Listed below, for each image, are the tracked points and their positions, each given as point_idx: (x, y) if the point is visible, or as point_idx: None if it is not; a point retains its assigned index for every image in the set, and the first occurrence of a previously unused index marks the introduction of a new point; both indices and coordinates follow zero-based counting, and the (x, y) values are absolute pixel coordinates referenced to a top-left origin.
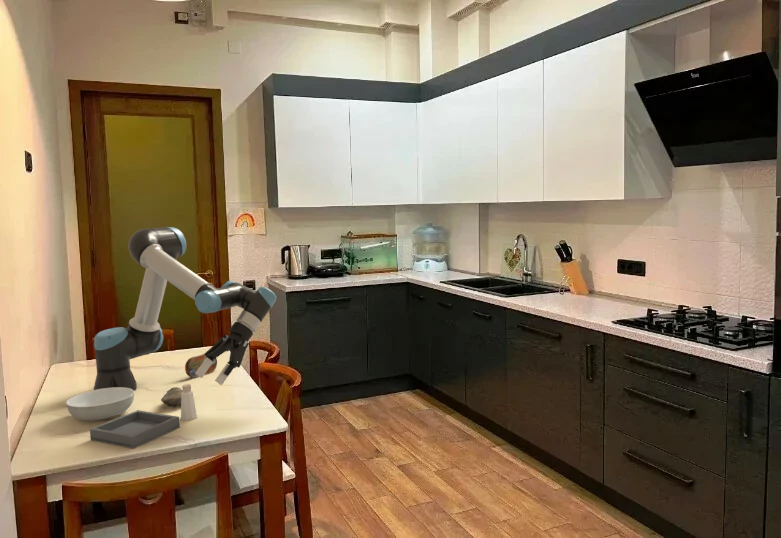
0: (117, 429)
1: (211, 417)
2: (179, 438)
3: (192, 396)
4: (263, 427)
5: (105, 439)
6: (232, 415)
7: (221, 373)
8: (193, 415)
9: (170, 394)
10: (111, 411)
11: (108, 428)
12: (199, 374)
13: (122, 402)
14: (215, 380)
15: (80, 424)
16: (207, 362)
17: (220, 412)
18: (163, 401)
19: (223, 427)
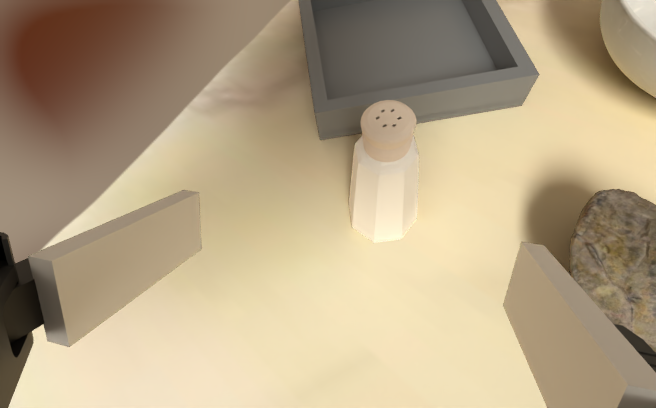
0: (460, 25)
1: (299, 261)
2: (245, 97)
3: (356, 170)
4: None
5: None
6: (230, 327)
7: (132, 213)
8: (350, 206)
9: (646, 231)
10: (600, 19)
11: (468, 1)
12: (516, 276)
13: (624, 26)
14: (190, 191)
15: None
16: (580, 376)
17: (313, 328)
18: (599, 192)
19: None
